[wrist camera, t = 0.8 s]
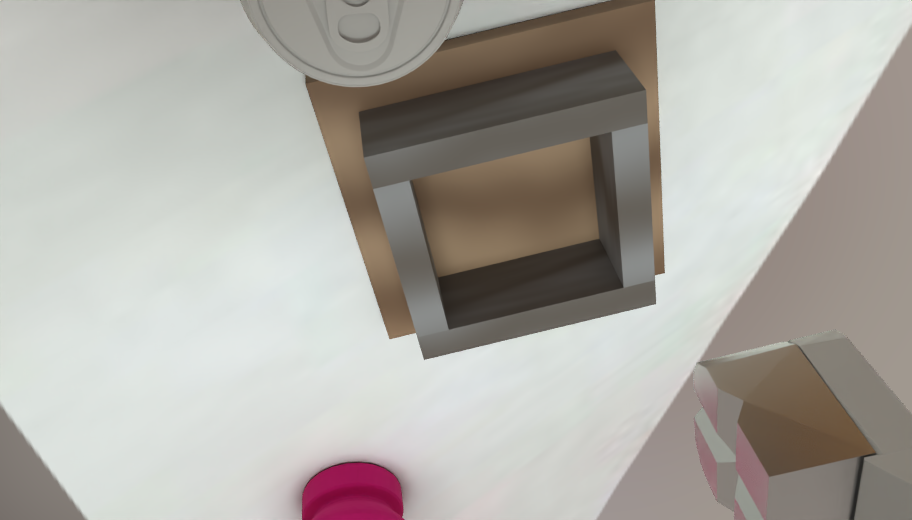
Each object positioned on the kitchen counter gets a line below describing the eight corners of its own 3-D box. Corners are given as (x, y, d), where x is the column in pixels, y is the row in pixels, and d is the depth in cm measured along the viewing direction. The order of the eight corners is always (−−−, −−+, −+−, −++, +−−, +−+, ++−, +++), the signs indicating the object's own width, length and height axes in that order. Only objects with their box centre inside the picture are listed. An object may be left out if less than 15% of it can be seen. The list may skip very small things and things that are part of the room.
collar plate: (305, 74, 35) (305, 128, 31) (646, -8, 35) (690, 36, 31) (388, 326, 44) (396, 393, 40) (658, 261, 44) (692, 322, 40)
